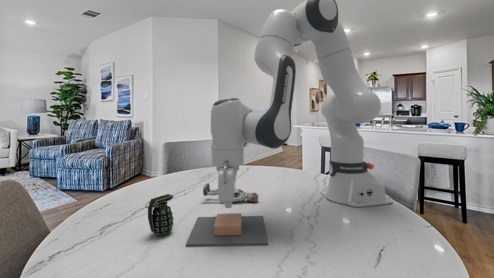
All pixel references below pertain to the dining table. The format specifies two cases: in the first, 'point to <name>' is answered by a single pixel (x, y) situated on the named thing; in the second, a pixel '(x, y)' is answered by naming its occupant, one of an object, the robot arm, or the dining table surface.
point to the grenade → (160, 215)
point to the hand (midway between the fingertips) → (228, 206)
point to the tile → (228, 224)
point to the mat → (250, 235)
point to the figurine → (238, 194)
